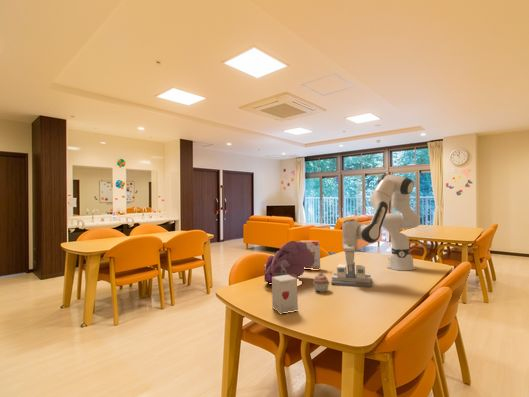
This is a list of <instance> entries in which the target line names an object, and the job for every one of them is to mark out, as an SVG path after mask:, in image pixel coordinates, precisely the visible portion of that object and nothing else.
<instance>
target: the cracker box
mask: <svg viewBox="0 0 529 397" xmlns="http://www.w3.org/2000/svg"><path fill="white" fill-rule="evenodd" d="M298 242H302V243H304V244H305V245H306V246H307V248H308V250H309V251H310V252H311V253H312V254H313V256H314V259H315V261H314V264H313V265H312V266H311V267H307V268H313V269H319V268H320V269H321V253H320V252H321V251H320V240H303V239H302V240H299V241H298ZM305 268H306V267H305Z"/></svg>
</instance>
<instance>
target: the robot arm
mask: <svg viewBox="0 0 529 397" xmlns="http://www.w3.org/2000/svg"><path fill="white" fill-rule="evenodd" d="M414 184H415V183H414V182H413V179H411V178H409V177H404V176H400V175H395V174H394V175H393V174H389V173H383V174H381V175H380V176H379V177H378V179H377V185H376V186H375V188H374V190H373V192H372V193H371V196H370V199H369V201H370V205H371V207H372V208H374V213H373V216H372V218H371V220H370V223H369V224H364V223H361V222H359V221H357V220H355V219H353V218H351V219H346V220H344V221H343V222H342V225H341V233H342V234H341V236H342V249H343V251H344V254H345V262H346V266H347V265H349V271H352V265H353V263H354V262H355V253H356V251H357V250H358V249H359V244H358V241H359V240H360V241H364V242H367V243H369V244H374V243H376V242H377V241H378V240H379V239H380V236H381V232H382V231H381V230H382V228H383V229H385V231H387V233H388V234H389V236H390V238H391V255H389V257H388V264H387V266H386V269H387V268H388V269H390V270H391V269H392V270H396V271H413V270H417V266H415V265H414V257H413V256H412V255H411V248H410V238H409V237H408V235H407V234H405V233H403V232H401V231H400V230H402V229H406V230H407V229H408V230H409V229H410V230H411V229H416V228H418V227H419V225H420V224H421V219H420V217H419V215H418V214H417V213H415V212H414V211H413V210H412V208H411V204H410V203H411V202H410V201H411V193H412V192H413V190H414ZM390 201H391V207H392V209H394V210H395V211H397V212H398V213H397V212H396V213H395V212H393V213H387V212H388V210H389V204H390Z"/></svg>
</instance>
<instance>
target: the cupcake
mask: <svg viewBox="0 0 529 397" xmlns="http://www.w3.org/2000/svg"><path fill="white" fill-rule="evenodd" d="M328 279H329V278H328V277H327V276H326V275H325V274H324V273H323V272H319V273H318V274H317V275H316V276H314V281H312V284H313V286H314V289H315V292H317V291H320V292H319V293H326V292H325V291H327V292H328V288H329V285H330V284H331V282H330V280H328Z"/></svg>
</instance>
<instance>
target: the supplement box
mask: <svg viewBox="0 0 529 397" xmlns="http://www.w3.org/2000/svg"><path fill="white" fill-rule="evenodd" d="M271 292H272V293H271V295H272V296H271V298H272V300H271V302H272V305H271V306H272V308H273V307H274V308H275V309H277V310H278V311H279V312H280V313H283V312H288V311H294V310H298V311H299V308H298V306H299V304H298V301H299V300H298V287H297V279H296V278H294V277H292V276H290V275H282V276H275V277H272V285H271Z"/></svg>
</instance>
